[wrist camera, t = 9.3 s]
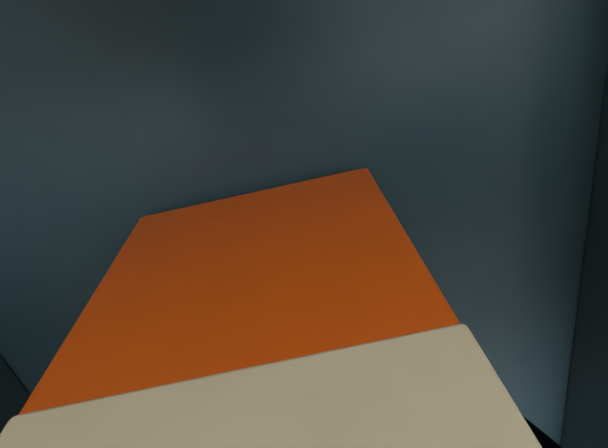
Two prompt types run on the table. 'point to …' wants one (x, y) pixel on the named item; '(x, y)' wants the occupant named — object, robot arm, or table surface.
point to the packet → (271, 337)
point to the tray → (322, 158)
